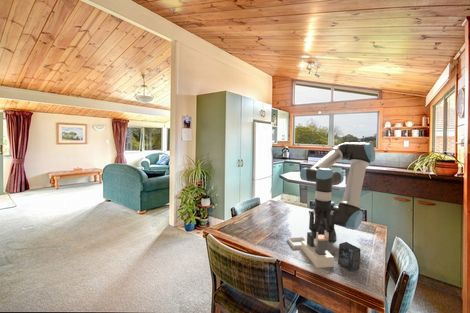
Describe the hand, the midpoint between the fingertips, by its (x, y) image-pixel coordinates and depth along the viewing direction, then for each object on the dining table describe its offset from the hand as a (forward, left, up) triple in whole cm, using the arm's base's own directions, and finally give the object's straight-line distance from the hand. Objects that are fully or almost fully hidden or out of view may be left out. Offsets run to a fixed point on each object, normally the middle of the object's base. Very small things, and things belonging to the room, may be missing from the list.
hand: (320, 244), depth 111 cm
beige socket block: (-4, -4, -10) cm, 11 cm away
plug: (0, 0, -6) cm, 6 cm away
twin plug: (0, -9, -10) cm, 13 cm away
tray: (+4, -18, -10) cm, 21 cm away
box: (-12, +5, -10) cm, 17 cm away
